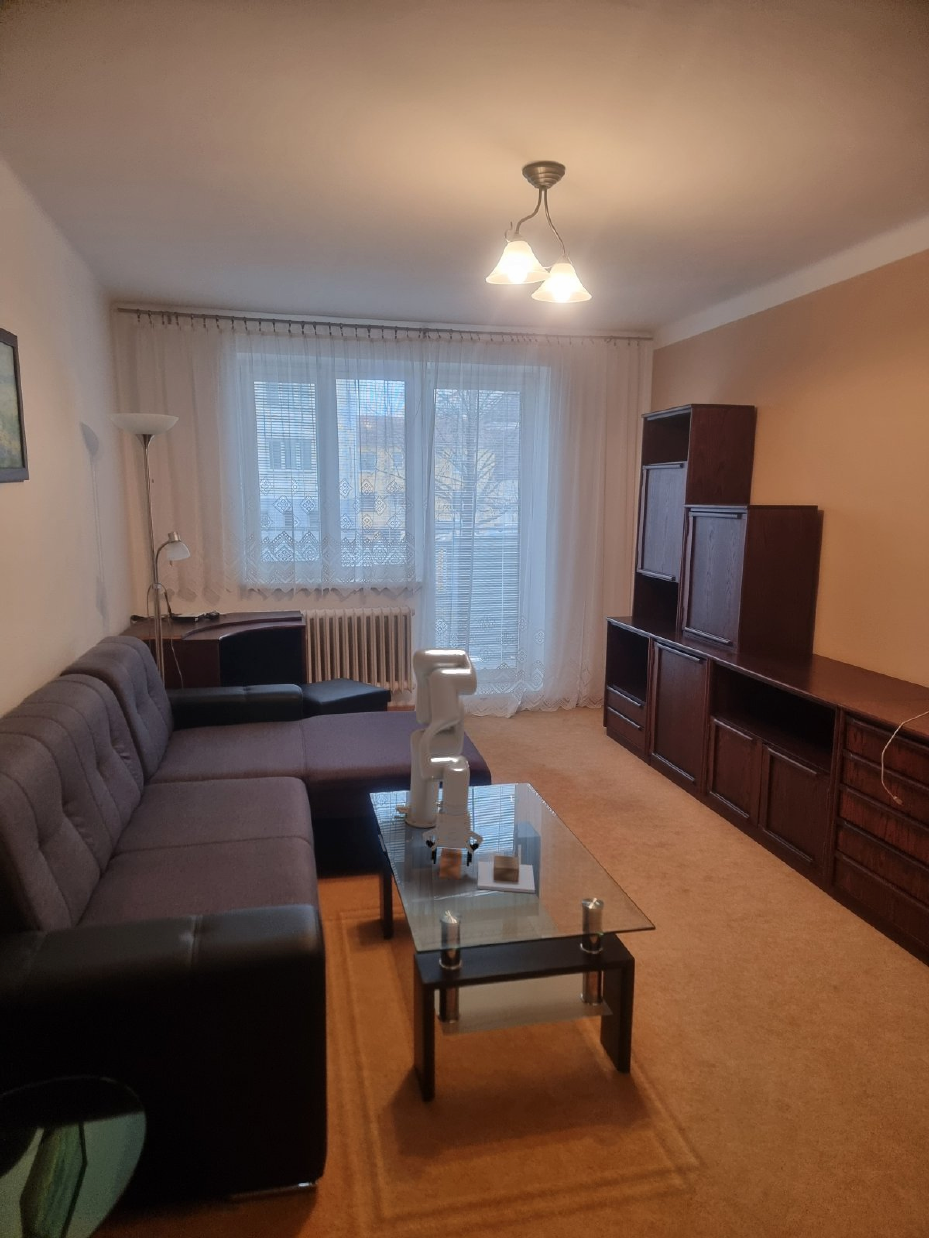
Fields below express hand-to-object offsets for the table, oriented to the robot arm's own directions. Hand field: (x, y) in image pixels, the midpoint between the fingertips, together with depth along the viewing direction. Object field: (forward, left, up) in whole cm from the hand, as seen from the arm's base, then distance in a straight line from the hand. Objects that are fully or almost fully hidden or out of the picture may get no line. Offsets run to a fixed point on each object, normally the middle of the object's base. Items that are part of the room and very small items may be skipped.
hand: (451, 863), depth 220 cm
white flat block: (+16, -1, -3) cm, 16 cm away
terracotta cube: (0, 0, -3) cm, 3 cm away
